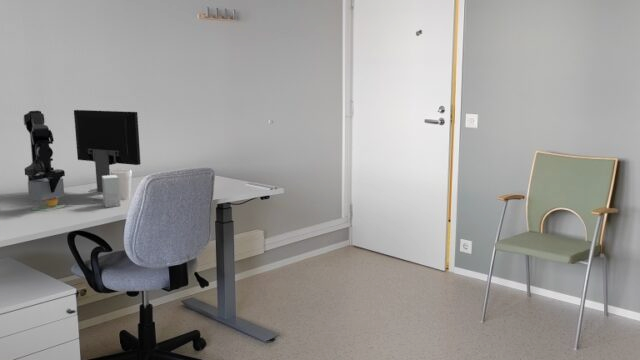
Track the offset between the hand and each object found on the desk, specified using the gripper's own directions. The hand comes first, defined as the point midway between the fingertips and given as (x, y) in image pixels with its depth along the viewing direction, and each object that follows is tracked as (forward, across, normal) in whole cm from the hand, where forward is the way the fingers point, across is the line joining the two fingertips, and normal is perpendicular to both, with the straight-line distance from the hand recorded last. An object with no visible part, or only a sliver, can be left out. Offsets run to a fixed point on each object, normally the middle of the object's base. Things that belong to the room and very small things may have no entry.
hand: (46, 191), depth 267 cm
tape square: (+7, 0, 0) cm, 7 cm away
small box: (+7, +22, +16) cm, 28 cm away
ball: (+5, 0, +2) cm, 5 cm away
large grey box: (+2, 0, 0) cm, 2 cm away
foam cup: (+7, +16, +29) cm, 34 cm away
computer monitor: (+8, -2, +38) cm, 39 cm away
